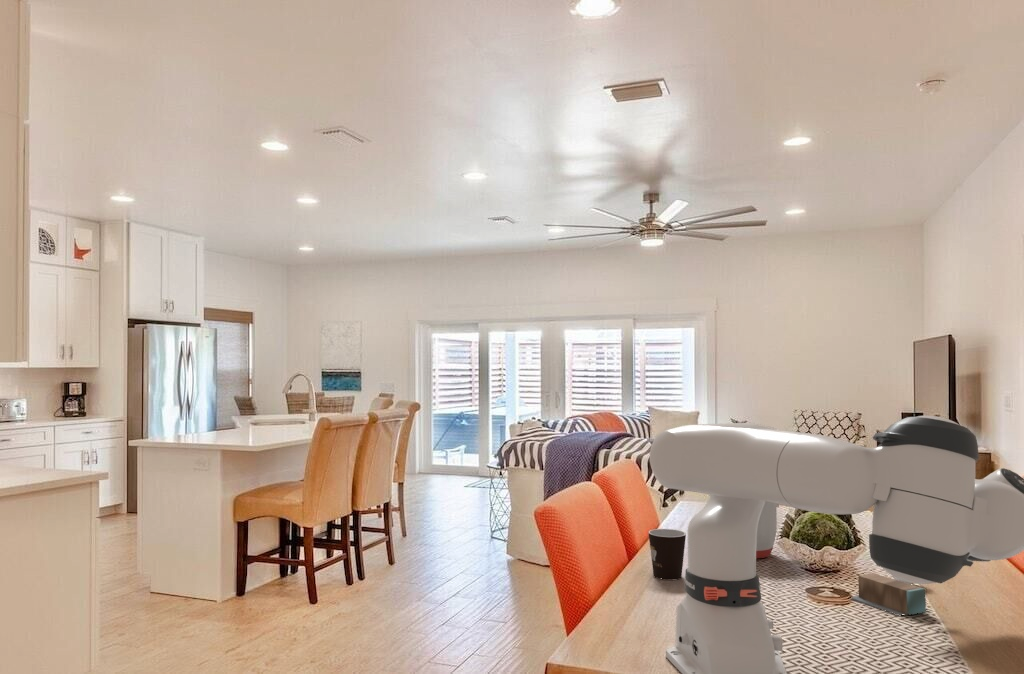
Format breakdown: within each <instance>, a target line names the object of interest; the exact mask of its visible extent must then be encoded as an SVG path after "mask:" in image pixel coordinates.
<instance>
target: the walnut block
mask: <svg viewBox="0 0 1024 674" xmlns="http://www.w3.org/2000/svg"><path fill="white" fill-rule="evenodd" d="M857 579H858V580H857V581H858V596H859V598H862V599H865V600H868V601H871V602H874V603H877V604H880V605H882V606H885V607H888V608H891V609H894V610H897V611H900V612H903V613H906V614H909V615H908V616H911V614H912V615H917V613H918V614H923V613H926V612H927V611H926V609H927V608H926V604H927V603H926V602H927V601H926V599H927V598H926V588H925V587H920V586H917V585H914V584H913V585H911V584H907V583H904V582H901V581H897V580H894V578H890V577H887V576H884V575H880V574H876V573H866V574H861V575H860V574H859V575H858V577H857ZM922 612H923V613H922Z"/></svg>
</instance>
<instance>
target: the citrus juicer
mask: <svg viewBox="0 0 1024 674" xmlns="http://www.w3.org/2000/svg"><path fill="white" fill-rule="evenodd" d="M779 506H780V504H776V503H771V502H767V501H765V503H764V506H763V509H762V511H761V515H760V518H759V522H758V528H757V541H756V559H764V558H767V557H770V556H771V554H772V551H773V549H774V544H775V541H776V537H777V525H778V522H777V519H778V517H777V512H778V511H777V508H779Z"/></svg>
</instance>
